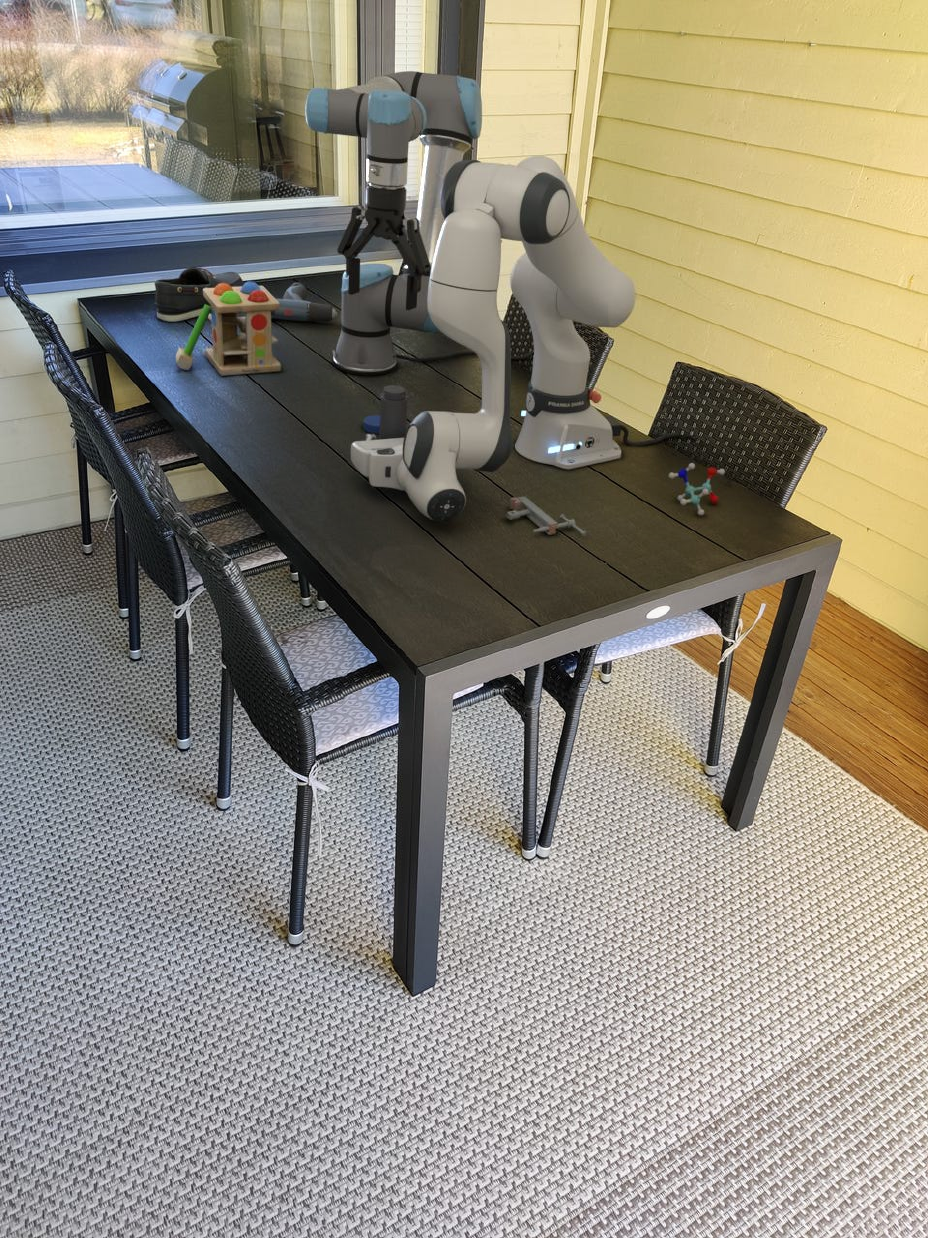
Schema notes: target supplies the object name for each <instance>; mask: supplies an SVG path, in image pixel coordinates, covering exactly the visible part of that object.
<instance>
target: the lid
mask: <svg viewBox="0 0 928 1238" xmlns="http://www.w3.org/2000/svg"><path fill="white" fill-rule="evenodd" d="M363 430H364V431H366V432H367V433H369V434H374V435H379V432H380V414H378V415H377V414H375V415H368V416H366V417H364V418H363Z"/></svg>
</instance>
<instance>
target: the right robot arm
mask: <svg viewBox="0 0 928 1238" xmlns="http://www.w3.org/2000/svg"><path fill="white" fill-rule="evenodd" d="M440 205H441V210H442V214H443V217H444V222H443V225H442V228H441V231H440V234H439V237H438V241H437V244H436V248H435V252H434V256H433V261H432V266H431V273H430V279H429V287H428V297H427V306H428V313H429V316H430V318H431V320H432V322H433V323H434V325H435V326H436V327H437V328H438V329H439V330H440V331H441V332H442V333H441V334H443V335H444V336H446V337H447V338H449V339H451V340H452V341H454V342H455V343H458V344H459V345H461V346H462V347H463V346H464V347H465V348H467V349H469V350H470V351H474V352H475V353H476V354H477V355H476V356H477V357H478V358H479V361H480V365H481V408H480V409H479V411H478V412H476V413H471V412H451V411H438V410H437V411H435V410H434V411H433V410H431V411H430V410H424V411H422V412H420V413H419V414H418V415H417V416H416V417H414V418H413V420H412V421H411V422H410V423H409V425H408V426H407V427H406V433H405V437H404V438H393V439H381V440H379V439H377V435H376V434H374V433H367V434H366V433H365V440H356V441H353V442H352V443H351V444H350V460H351V463H352V464H353V466H354V468H356V470H357V471H358V472H359V473H360V474H361V475H362V476H364V477H365V478H368V482H369V484H370V486H372V487H375V488H388V489H393V490H394V489H395V490H398V491H402V492H403V491H404V492H405V493H406V494H407V497H408V498H409V500H410V501H411V503H412V504H413V506H415V508H416V509H417V511H419V512H420V513H421V514H422V515H423V516H425V517H426V518H428V519H429V520H432V521H434V522H444V521H449V520H451V519H454V518H455V517H457V516H459V514H461V513H462V511H463V510H464V509H465V506H466V503H467V497H466V494H465V491H464V488H463V487H462V484H461V483H460V481H459V480H458V476H457V470H472V471H479V472H486V473H494V472H496V471H497V470H498V469H500V468H501V467H502V466H503V465H505V463H506V462H508V460H509V458H510V457H511V455H512V451H513V431H512V430H513V429H512V423H511V422H512V421H511V387H512V386H511V385H512V383H511V381H512V378H511V376H512V360H511V356H512V347H511V336H510V335H511V334H510V330H509V327H508V324H507V323H506V322H505V321H503V320H502V319H501V317H500V313H499V310H498V301H497V300H498V289H499V283H500V275H501V263H502V262H501V261H502V243H503V240H508V241H514V242H521V243H522V245H523V248H524V251H525V252H524V253H523V254H521V256H519V258H517V260H516V261H515V263H514V265H513V267H512V269H511V273H510V280H509V281H510V282H509V283H510V290H511V293H512V295H513V297H514V299H515V300H516V301H517V302H518V303H519V305H520V306H521V307H522V309H523V311H524V314H525V315H526V318H527V320H528V323H529V326H530V331H531V334H532V342H533V351H534V355H533V360H532V370H531V372H532V373H531V379H530V380H529V382H528V386H527V392H526V398H525V399H526V400H525V410H521V415H520V416H521V417H524V418H523V422H522V426H521V429H520V432H519V433H518V434H519V435H518V438H517V440H516V442H515V444H514V448H515V450H516V452H517V453H518V454H519V455H521V456H522V457H524V458H526V459H528V460H531V461H533V462H536V463H540V464H545V465H551V466H554V467H557V468H560V469H563V470H573V469H577V468H582V467H587V466H591V465H597V464H599V463H600V464H601V463H605V462H609V461H613V460H619V459H621V458H622V449H621V447H620V446H619V444H618V443H617V442H616V441H615V440H614V438H613V437H620V436H621V433H622V432H623V436H622V442H623V443H624V444H625V445H626V446H629V447H644V446H645V447H646V446H649V445H655V444H658V443H661V442H662V441H664V440H666V439H672V438H673V439H674V438H679V437H683V436H682V435H680V434H679V433H678V432H679V431H678V432H672V433H671V432H670V433H665V434H662V435H660V436H659V437H656V438H654V439H647V440H643V441H637V442H634V441H630V440H628V438H629V434H630V433H629V429H628V427H626V426H625V425H623V424H621V422H619V420H617V419H616V418H615V417H614V416H612V415H605V416H604V415H603V414H602V413H601V412H600V411H599V410H598V409H597V408H596V407H594V406H593V405H592V403H594V404H599V403H600V402H601V401H602V395H601V394H600V393H599V392H597V390H592V389H591V387H589V386H587V381H588V380H587V379H588V373H589V368H590V367H589V366H590V361H591V352H590V348H589V346H588V344H587V342H586V341H585V340H584V339H583V338H582V337H581V336H580V334H579V333H578V331H577V329H576V327H575V325H574V322H577V323H580V324H583V325H587V326H590V327H595V328H613V329H614V328H618V327H619V326H621V325H622V324H624V323H625V322H626V321H627V320H628V319H629V317H630V316H631V314H632V313H633V310H634V308H635V305H636V298H637V292H636V287H635V284H634V281H633V279H632V277H630V276H629V275H627V274H626V273H624V272H623V271H621V270H620V269H618V268H617V267H616V266H615V265H614V264H613V263H612V262H611V261H610V260H609V259H608V258H607V257H606V256H605V255H604V254H603V252H602V251H601V250H600V249H599V247H598V246H597V245H596V244H595V243H594V241H593V240H592V238H591V237H590V235H589V234H588V232H587V229H586V227H585V224H584V220H583V219H582V216H581V212H580V209H579V205H578V202H577V200H576V197H575V194H574V191H573V189H572V187H571V185H570V183H569V181H568V179H567V177H566V175H565V173H564V172H563V170H562V168H561V167H560V165H559V164H558V163H557V162H556V161H555V160H554V159H552V158H550V157H548V156H544V155H532V156H529V157H527V158H524V159H522V160H521V161H520V162H518V163H517V164H516V165H515V164H510V163H507V164H505V163H497V162H486V161H485V162H483V161H481V160H478V159H467V160H462V161H460V162H457V163H455V164H454V165H453V166H452V167H451V168H450V170H449V171H448V172H447V173H446V175H445V177H444V179H443V181H442V184H441V189H440ZM591 401H592V403H591ZM687 438H690V439H691V440H692V441H695V442H698V441H699V439H698V440H697V439H694V438H692V437H690V436H687Z"/></svg>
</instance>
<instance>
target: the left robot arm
mask: <svg viewBox="0 0 928 1238" xmlns="http://www.w3.org/2000/svg"><path fill="white" fill-rule="evenodd" d="M305 120H306V124H307V126H308V128H309V129H310V130H311V131H313V132H318V133H322V134H325V135H327V134H330V135H339V136H346V137H347V136H348V137H356V138H357V137H358V138H363V139H366V169H365V170H366V175H365V176H366V177H365V179H366V182H367V185H366V186H365V205H366V208H365V207H364V206H363V205H357V206H353V207H352V208H351V214H350V219H349V222H348V225H347V227H346V228H345V231H344V234H342V235H343V236H342V238H341V239H340V243H339V245H338V247H337V253H338V254H339V255H342V256H343V257H344V258H345V271H344V272H343V274H342V281H341V287H340V292H341V316H340V317H341V319H340V321H341V324H340V325H341V326H340V329H341V330H340V336H339V338H338V341H337V344H336V348H335V350H334V349H332V355H333V361H332V362H333V363H332V364H333V366H334V367H335V368H337V369H338V370H339V371H342V372H344V373H347V374H352V375H356V376H380V375H381V376H382V375H386V374H389V373H391V372H393V371H395V369H396V368H397V361H398V360H399V359H400V360H404V361H408V362H414V363H428V362H436V361H441V360H447V359H451V358H453V357H458V356H478V355H477V354H476V353H475V352H474V351H472V350H459V351H454V352H450V353H447V354H443V355H437V356H429V357H411V356H407V355H403V354H398V353H396V352H395V347H394V343H393V341H392V337H391V336H392V335H391V328H397V329H403V330H411V331H416V332H422V333H425V334H426V333H430V334H443V333H442V332H441V331H440V330H439V329H438V328H437V327H436V326H435V325H434V323H433V322H432V320H431V318H430V316H429V313H428V306H427V297H428V287H429V279H430V273H431V266H432V261H433V256H434V252H435V248H436V244H437V241H438V237H439V234H440V231H441V228H442V225H443V222H444V217H443V214H442V210H441V205H440V189H441V184H442V181H443V179H444V177H445V175H446V173H447V172H448V171H449V170H450V168H451V167H452V166H453V165H454V164H455V163H457V162H460V161H463V158H464V155H465V153H467V152H468V151H469V150H470V149H471V148H472V144H473V143H472V142H473V140H477V139H479V138H480V137H481V133H482V132H481V131H482V127H483V101H482V92H481V88H480V85H479V83H478V82H477V81H476V80H475V79H474V78H468V77H464V76H460V75H450V74H449V75H448V74H440V73H428V72H420V71H415V70H414V71H413V70H406V71H398V72H393V73H387V74H382V75H378V76H377V75H376V76H375V77H373V78H371V79H369V81H368V82H367V83H365V84H360V85H354V86H351V87H345V88H338V89H335V88H327V87H313V88H311V89H310V90H309V91H308V94H307V96H306V100H305ZM418 138H419V141H420V143H421V144H422V145H423V146H424V155H423V163H422V171H421V178H420V185H419V192H418V193H419V195H418V200H417V201H418V203H417V209H416V216H415V217H414V218H406V217H405V210H406V207H407V189H406V187H405V186H406V185H407V184H408V169H409V168H408V166H409V146H410V145H409V143H410V142H413V141H415V140H417V139H418ZM364 220H365V221H366V223H367V225H366V226H364V227H365V228H364V229H362V232H361V234H360V235H359V236H358V237H357V235H358V233H359V230H360V228H361V226H362V224H363V221H364ZM404 230H405V231H406V232H405V231H404ZM356 237H357V239H356ZM373 237H375V238H382V239H384V240H387V241H390V240H391V243H392V244H393V245H395V246H396V248H397V250H398V252H399V254H400V256H401V257H402V260H403V262H404V263H405V265H403V268H402V274H401V275H399V274H394V273H395V272H394V269H393V267H392V266H391V265H389V264H387V263H364V264H361V258H359V257H358V256H359V254H360V253H361V252H362V250H363V249H364V248H365V247H366V246H367V244H368V243H369V242H370V241H371V240H372V239H373ZM407 238H408V239H407ZM355 239H356V240H355ZM532 356H533V355H532V351H530V352H528V353H525V354H523V355H511V361H521V360H526V359H528V358H530V357H532ZM397 359H398V360H397Z"/></svg>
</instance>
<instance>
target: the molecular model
mask: <svg viewBox="0 0 928 1238" xmlns="http://www.w3.org/2000/svg"><path fill="white" fill-rule="evenodd" d="M695 468H696V464H695V463H693V462H690V463H689V464H688V465H687V468H685V469H684V468H682V469H680V470H679V471H678V472H669V473H668V478H669V479H671V480H674V479H675V478H676V477H679V478H680V479H683V481H684V484H685V486H686V488H685V492H683V493H682V494H679V495H678V496H677V501H678V502H679V504H680V505H681V506H686V505H687V504H690V503H691V504H692V505H695V506H696V509H697V515H698V516H701V517H702V516H704V514H705V510H704V509H702V507H701V505H700V503H701V498H703V497H704V496H708V498H709V501H710V503H711V504H713V505H715V504H717V503H718V502H719V500H720V499H719V497H718V495H715V494H714V492H713V491H712V485H711V484H710V483H711V480H712V476H715V474H718V475H720V476H723V475H725V473H726V471H725V469H724V468H720V469H716V468H714V467H709V468H708V469H707V473H706V474H707V475H708V476H707V479H706V481H705V482H704V483H702V485H701V486H698V487H695V486H694V485H690V483H689V480H688V478H687V476H688V472H689V471H690V470H694V469H695ZM698 491H701V493H700V494H698V495H697V494H695V493H696V492H698ZM687 496H691V497H690V498H689V499H686V498H685V497H687Z"/></svg>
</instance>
